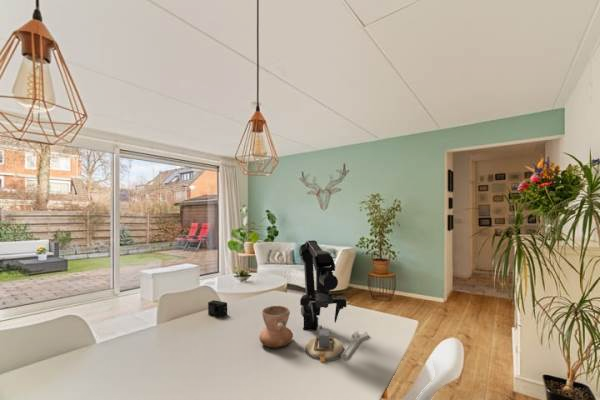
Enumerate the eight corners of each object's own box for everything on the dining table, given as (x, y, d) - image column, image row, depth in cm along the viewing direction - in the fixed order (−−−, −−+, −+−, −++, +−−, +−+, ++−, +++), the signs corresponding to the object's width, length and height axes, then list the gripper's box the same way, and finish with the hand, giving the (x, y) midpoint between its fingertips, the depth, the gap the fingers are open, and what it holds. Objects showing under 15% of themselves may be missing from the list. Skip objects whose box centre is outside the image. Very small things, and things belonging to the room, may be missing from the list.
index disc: (304, 357, 106) (303, 340, 106) (308, 339, 120) (307, 324, 121) (343, 359, 104) (342, 342, 104) (342, 341, 118) (342, 325, 119)
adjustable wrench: (346, 362, 104) (346, 357, 104) (331, 357, 107) (331, 352, 108) (370, 336, 124) (369, 332, 124) (356, 333, 128) (356, 329, 128)
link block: (318, 348, 109) (318, 335, 110) (320, 341, 115) (319, 329, 116) (328, 349, 109) (328, 336, 109) (329, 342, 115) (329, 329, 115)
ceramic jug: (297, 349, 113) (297, 314, 114) (262, 355, 109) (262, 318, 110) (287, 332, 130) (286, 301, 131) (256, 336, 126) (256, 305, 127)
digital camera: (206, 315, 153) (206, 302, 153) (213, 312, 158) (213, 299, 158) (220, 318, 148) (220, 305, 148) (227, 315, 153) (227, 302, 153)
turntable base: (301, 360, 104) (301, 355, 104) (307, 339, 121) (307, 335, 121) (343, 363, 102) (343, 358, 102) (344, 342, 119) (344, 337, 119)
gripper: (297, 288, 107) (298, 329, 106) (345, 289, 104) (346, 331, 103) (302, 281, 118) (302, 318, 117) (345, 282, 115) (346, 320, 114)
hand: (323, 322), depth 112 cm, fingers open, 9 cm apart
